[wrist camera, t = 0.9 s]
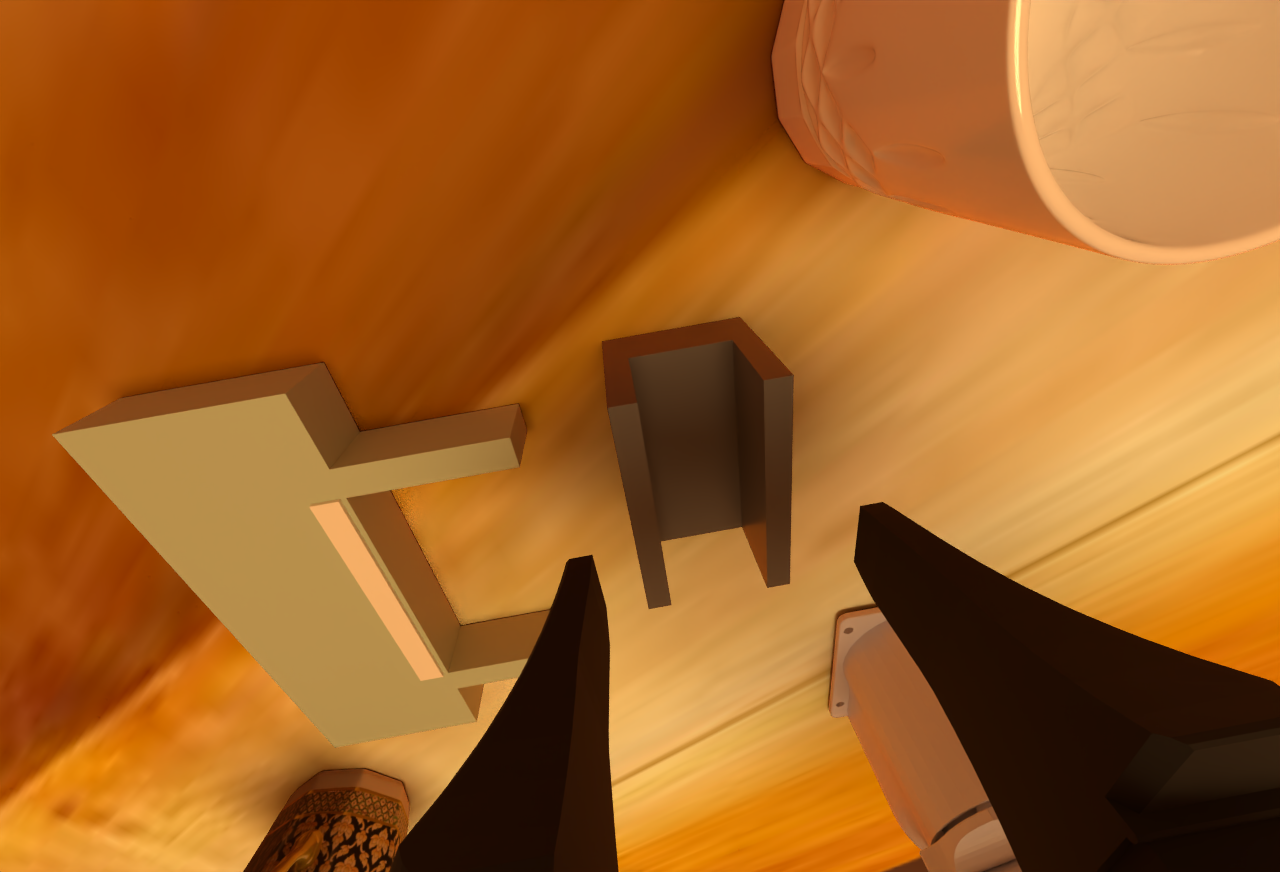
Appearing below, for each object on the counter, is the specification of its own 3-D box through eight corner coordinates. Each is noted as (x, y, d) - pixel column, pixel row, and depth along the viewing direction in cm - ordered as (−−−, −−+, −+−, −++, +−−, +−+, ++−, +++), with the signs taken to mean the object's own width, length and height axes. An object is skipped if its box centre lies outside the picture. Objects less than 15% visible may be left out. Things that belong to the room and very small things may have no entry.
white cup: (742, 212, 16) (936, 287, 7) (758, -150, 12) (1259, -1015, 3) (977, 194, 16) (1432, 244, 7) (1071, -162, 12) (2301, -949, 3)
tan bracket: (596, 654, 26) (597, 702, 24) (355, 698, 26) (333, 751, 24) (496, 331, 17) (482, 360, 14) (121, 397, 17) (47, 437, 14)
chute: (746, 490, 22) (789, 583, 17) (635, 510, 22) (648, 609, 17) (738, 315, 17) (793, 375, 13) (601, 339, 17) (607, 407, 13)
